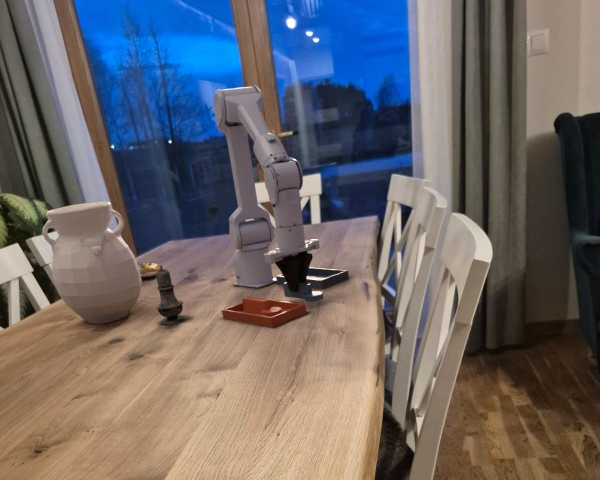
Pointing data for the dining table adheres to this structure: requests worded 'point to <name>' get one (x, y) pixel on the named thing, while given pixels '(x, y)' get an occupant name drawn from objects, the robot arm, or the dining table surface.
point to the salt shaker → (168, 299)
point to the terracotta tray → (288, 313)
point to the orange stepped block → (260, 307)
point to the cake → (148, 267)
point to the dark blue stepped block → (303, 293)
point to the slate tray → (321, 277)
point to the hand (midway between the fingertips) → (297, 289)
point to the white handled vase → (93, 262)
